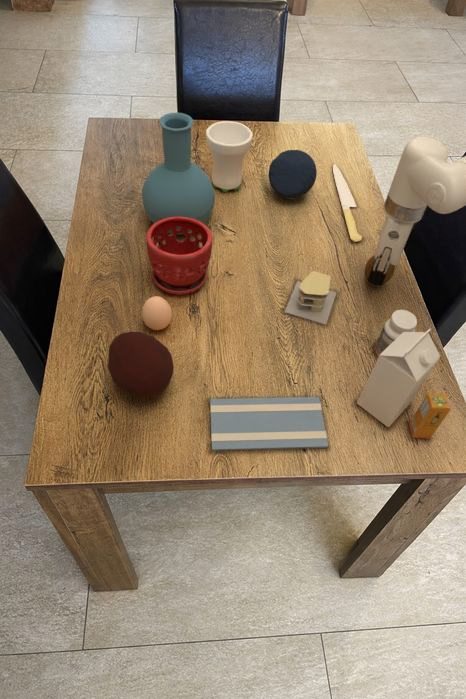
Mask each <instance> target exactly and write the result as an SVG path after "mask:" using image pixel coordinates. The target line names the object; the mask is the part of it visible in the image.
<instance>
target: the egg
mask: <svg viewBox="0 0 466 699" xmlns="http://www.w3.org/2000/svg"><path fill="white" fill-rule="evenodd" d="M141 317H142V321H143V323H144V324H145V326H147V327H148V328H149V329H151V330H155V331H160V330H163V329H166V328H167V327H168V325H169V324H170V323H171V321H172V317H173V311H172V308H171V304H170V303H169V302H168V301H167V300H166V299H165V298H163V297H162V296H158V295H155V296H151V297H150V298H148V299H146V301H145V302H144V303H143V305H142V309H141Z"/></svg>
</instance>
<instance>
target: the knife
mask: <svg viewBox="0 0 466 699" xmlns="http://www.w3.org/2000/svg"><path fill="white" fill-rule="evenodd" d="M332 172H333V178H334V182H335V186H336V189H337V193H338V198H339V202H340V205H341V209H342V212H343V215H344V220H345V223H346V227H347V230H348V234H349V238H350V240H351V241H352V242H354V243H358V242H360V241H361V240H362V239H363V236H362V235H361V234H360V233H359V232H358V230H357V226H356V225H357V224H356V222H355V218H354V216H353V214H352V210H351V208H357V207H358V206H357V203H356V201H355V198H354V197H353V195H352V191H351V190H350V188H349V185H348V183H347V180H346V179H345V177H344V175H343V173H342V171H341V169H340V168H339V166H338V165H337V164H336V163H333V166H332Z"/></svg>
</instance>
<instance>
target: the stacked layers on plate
mask: <svg viewBox="0 0 466 699" xmlns="http://www.w3.org/2000/svg"><path fill="white" fill-rule="evenodd" d="M331 277H332V276H331V275H329V274H325V273H322V272H319V271H315V270H312V271H311V272H310V273H309V274H308V275H307V276H306V277H305V278H304V279H303V280H302V281H300V280H297V281H296V283H295V285H294V288H293V290H292V292H291V295H290V298H289V300H288V302H287V305H286V307H285V309H284V313H286V314H290V315H293V316H296V317H299V318H302V319H305V320H309V321H312V322H315V323H319V324H322V325H325V326H326V325H327V323H328V321H329V317H330V314H331V311H332V309H333V305H334V301H335V299H336V296H337V291H334V290H330V286H331Z"/></svg>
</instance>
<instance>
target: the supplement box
mask: <svg viewBox="0 0 466 699" xmlns="http://www.w3.org/2000/svg"><path fill="white" fill-rule="evenodd" d="M451 410H452V407H451V405H450V402H449V399H448V396H447V394H446V393H443V392H440V393H439V392H427V393H426V395H425V396H424V398H423V399H422V401H421V403H420V404H419V406H418V408H417V409H416V411H415V412H414V414H413V415H412V417H411V419H410V421H409V423H408V425H409V429H410V434H411V438H412V439H427V440H429V439H431V438H432V437H433V435H434V434H435V432H436V431H437V429H438V428H439V427H440V426H441V424H442V422H443V421H444V420H445V419H446V417H447V415H448V414H449V412H450V411H451Z"/></svg>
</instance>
